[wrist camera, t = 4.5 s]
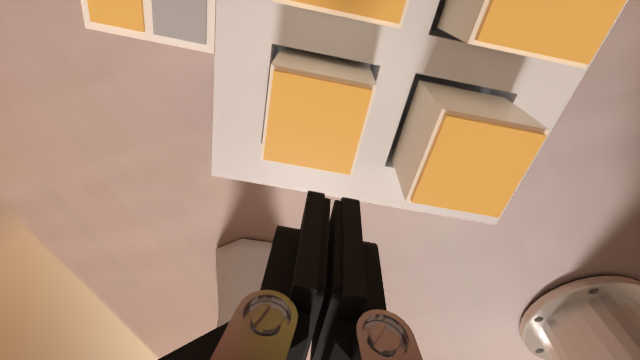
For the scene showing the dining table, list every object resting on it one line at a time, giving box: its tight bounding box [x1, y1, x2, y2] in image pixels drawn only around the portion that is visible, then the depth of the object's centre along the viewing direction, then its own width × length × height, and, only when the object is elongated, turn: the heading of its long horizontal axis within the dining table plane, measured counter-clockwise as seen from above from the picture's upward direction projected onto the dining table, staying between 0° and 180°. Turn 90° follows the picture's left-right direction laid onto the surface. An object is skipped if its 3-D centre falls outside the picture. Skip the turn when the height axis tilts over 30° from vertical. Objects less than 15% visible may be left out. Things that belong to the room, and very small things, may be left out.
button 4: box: [260, 46, 377, 176], centre depth 20 cm, size 5×5×5 cm
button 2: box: [392, 80, 550, 218], centre depth 19 cm, size 5×5×5 cm
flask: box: [216, 238, 272, 328], centre depth 28 cm, size 7×7×10 cm
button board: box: [212, 0, 628, 225], centre depth 20 cm, size 20×20×4 cm
